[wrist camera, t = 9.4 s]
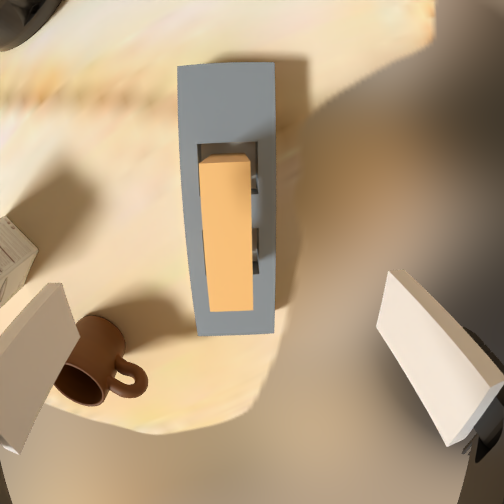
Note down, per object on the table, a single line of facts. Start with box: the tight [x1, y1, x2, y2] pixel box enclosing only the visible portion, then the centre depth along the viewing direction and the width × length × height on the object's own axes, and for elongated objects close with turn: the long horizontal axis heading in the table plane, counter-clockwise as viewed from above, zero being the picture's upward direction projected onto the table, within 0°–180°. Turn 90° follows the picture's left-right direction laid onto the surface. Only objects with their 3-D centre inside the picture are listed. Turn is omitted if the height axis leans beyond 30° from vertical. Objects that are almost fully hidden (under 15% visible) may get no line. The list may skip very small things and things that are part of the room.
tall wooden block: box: [199, 153, 253, 312], centre depth 23 cm, size 10×3×10 cm, turn 1°
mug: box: [54, 316, 148, 406], centre depth 31 cm, size 12×8×9 cm, turn 82°
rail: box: [177, 62, 276, 336], centre depth 27 cm, size 26×8×4 cm, turn 1°
